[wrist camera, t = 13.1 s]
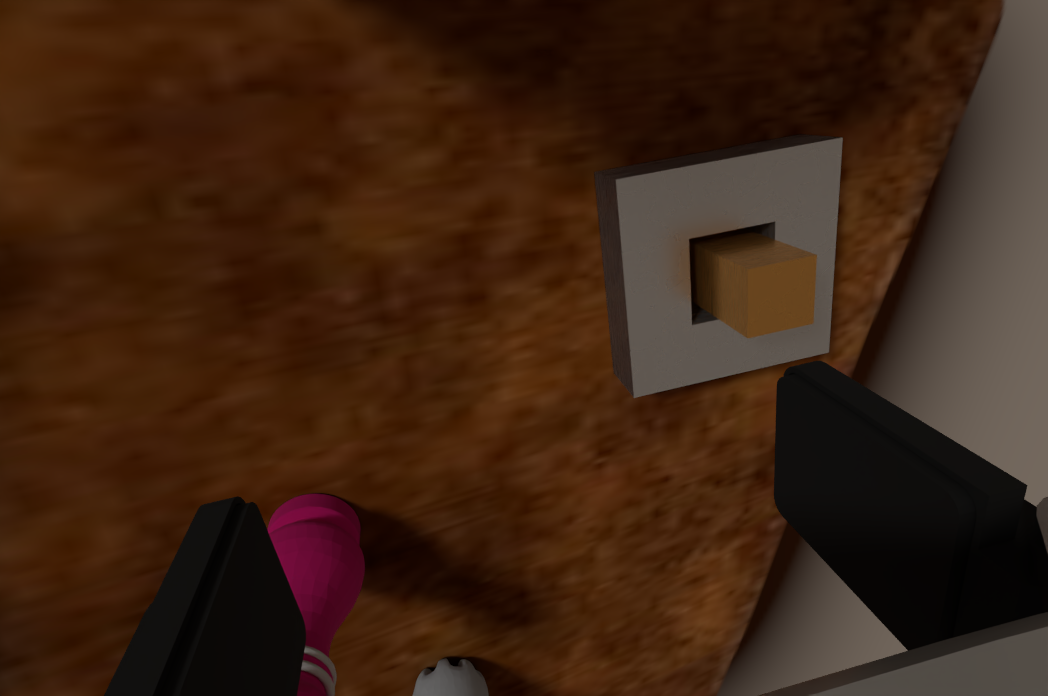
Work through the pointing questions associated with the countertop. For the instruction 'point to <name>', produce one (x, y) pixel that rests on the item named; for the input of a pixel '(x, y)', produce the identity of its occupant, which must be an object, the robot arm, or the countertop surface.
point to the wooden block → (752, 281)
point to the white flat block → (698, 210)
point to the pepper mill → (319, 576)
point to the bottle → (451, 680)
